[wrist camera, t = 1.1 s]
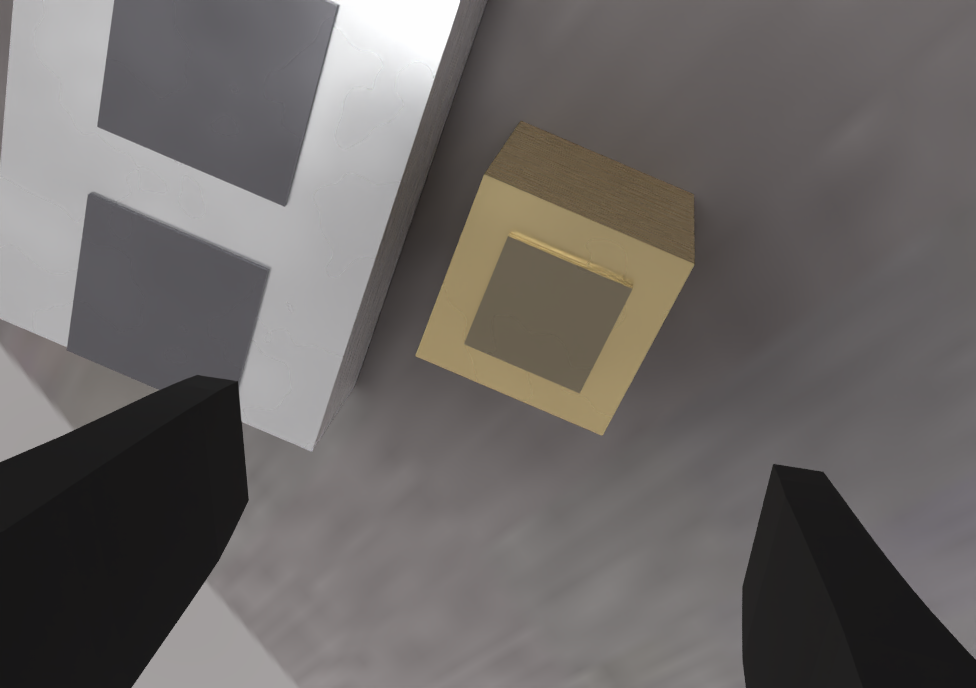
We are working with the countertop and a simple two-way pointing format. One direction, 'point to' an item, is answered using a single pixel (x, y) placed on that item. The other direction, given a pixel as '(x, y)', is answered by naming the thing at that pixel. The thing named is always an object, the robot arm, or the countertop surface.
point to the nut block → (561, 277)
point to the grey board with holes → (221, 184)
